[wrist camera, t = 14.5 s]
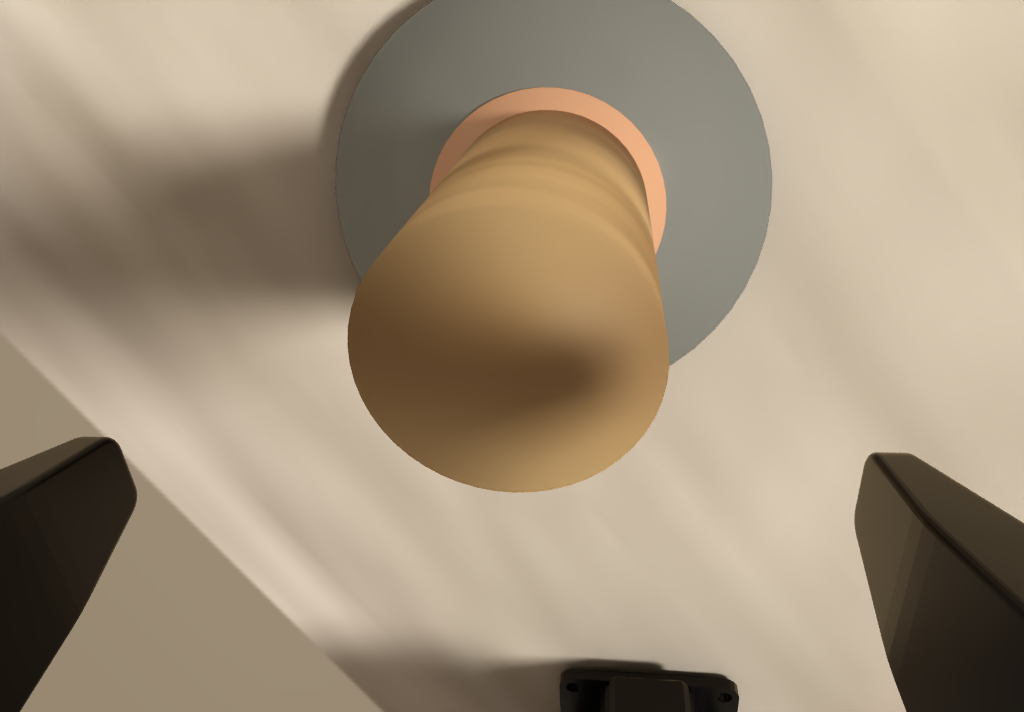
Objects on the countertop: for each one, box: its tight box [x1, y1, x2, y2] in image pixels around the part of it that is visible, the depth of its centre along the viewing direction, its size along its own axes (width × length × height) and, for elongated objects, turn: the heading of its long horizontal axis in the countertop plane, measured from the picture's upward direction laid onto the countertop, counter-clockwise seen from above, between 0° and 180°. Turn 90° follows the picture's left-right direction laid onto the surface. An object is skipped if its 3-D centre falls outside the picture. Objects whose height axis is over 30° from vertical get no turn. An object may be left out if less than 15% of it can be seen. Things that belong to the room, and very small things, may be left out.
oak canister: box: [348, 110, 669, 492], centre depth 15 cm, size 5×5×8 cm
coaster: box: [336, 0, 772, 366], centre depth 18 cm, size 11×11×1 cm
